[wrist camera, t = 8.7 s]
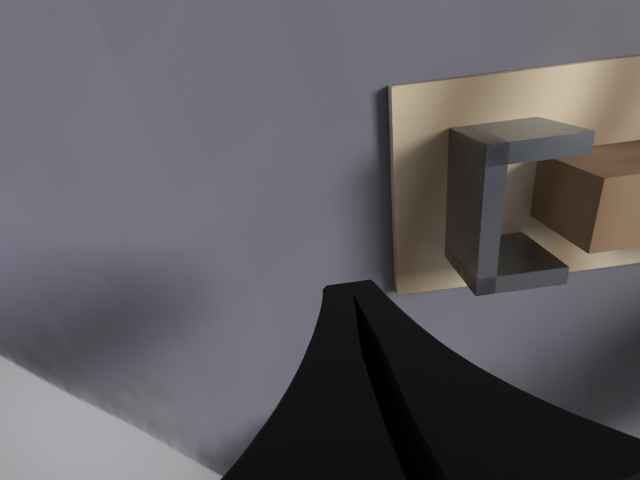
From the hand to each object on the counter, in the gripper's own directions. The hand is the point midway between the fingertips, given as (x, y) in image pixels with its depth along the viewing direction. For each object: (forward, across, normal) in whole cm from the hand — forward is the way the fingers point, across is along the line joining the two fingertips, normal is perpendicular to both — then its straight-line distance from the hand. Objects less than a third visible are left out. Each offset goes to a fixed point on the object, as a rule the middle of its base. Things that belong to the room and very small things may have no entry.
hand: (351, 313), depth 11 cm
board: (+8, -12, 0) cm, 15 cm away
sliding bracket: (+8, -8, 0) cm, 11 cm away
